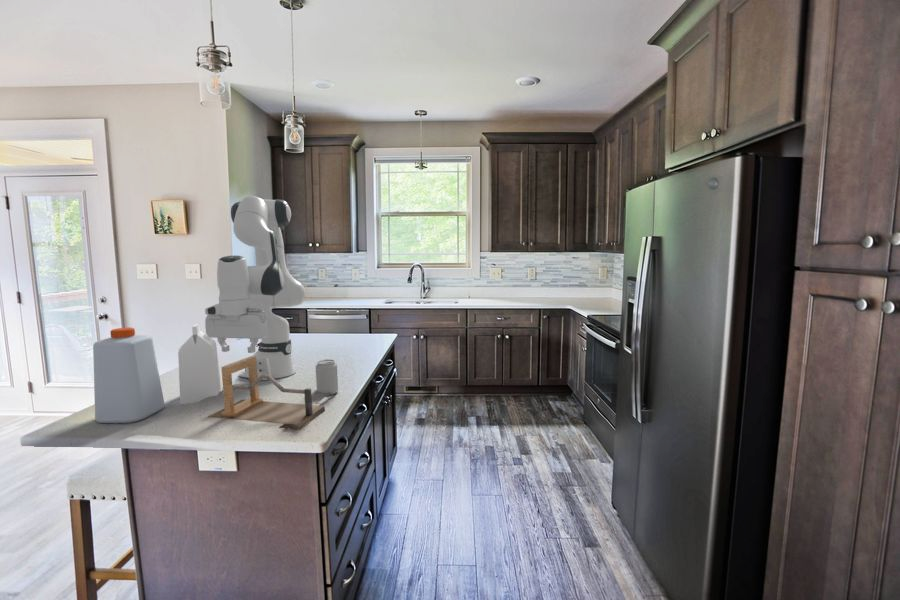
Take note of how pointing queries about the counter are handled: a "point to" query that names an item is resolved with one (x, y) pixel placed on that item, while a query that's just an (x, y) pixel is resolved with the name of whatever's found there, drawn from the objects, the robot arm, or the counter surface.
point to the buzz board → (279, 408)
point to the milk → (198, 368)
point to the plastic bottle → (126, 378)
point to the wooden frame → (228, 389)
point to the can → (327, 376)
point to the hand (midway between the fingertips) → (238, 351)
